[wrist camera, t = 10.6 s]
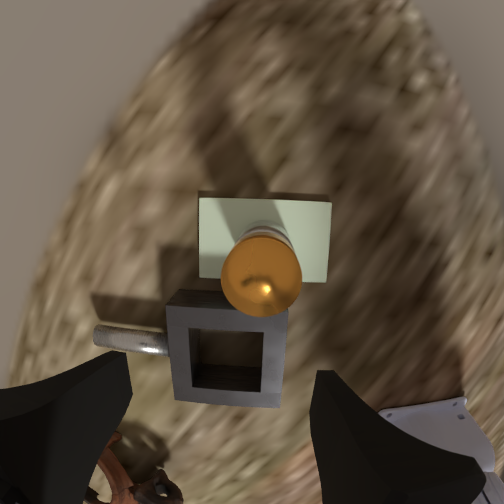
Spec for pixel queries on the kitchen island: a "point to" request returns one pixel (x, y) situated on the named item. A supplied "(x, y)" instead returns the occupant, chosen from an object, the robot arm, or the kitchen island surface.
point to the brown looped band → (132, 483)
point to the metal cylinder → (262, 271)
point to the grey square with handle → (188, 350)
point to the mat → (250, 210)
